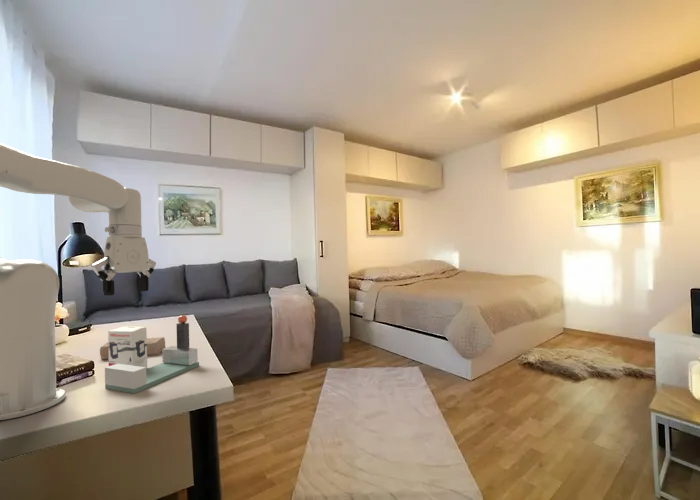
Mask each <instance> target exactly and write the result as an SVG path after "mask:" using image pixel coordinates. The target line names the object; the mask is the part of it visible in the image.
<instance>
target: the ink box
mask: <svg viewBox="0 0 700 500" xmlns="http://www.w3.org/2000/svg"><path fill="white" fill-rule="evenodd" d="M107 332H108V333H107V334H108V335H107V337H108V339H107V340H108V342H107V343H108V347H109V359H108V367H109V366H112V365H115V364H125V365H132V366H140V367H146V369H148V355H147V327H146V326H125V325H124V326H119V327H116V328H114V329H110V330H108V331H107Z"/></svg>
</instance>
